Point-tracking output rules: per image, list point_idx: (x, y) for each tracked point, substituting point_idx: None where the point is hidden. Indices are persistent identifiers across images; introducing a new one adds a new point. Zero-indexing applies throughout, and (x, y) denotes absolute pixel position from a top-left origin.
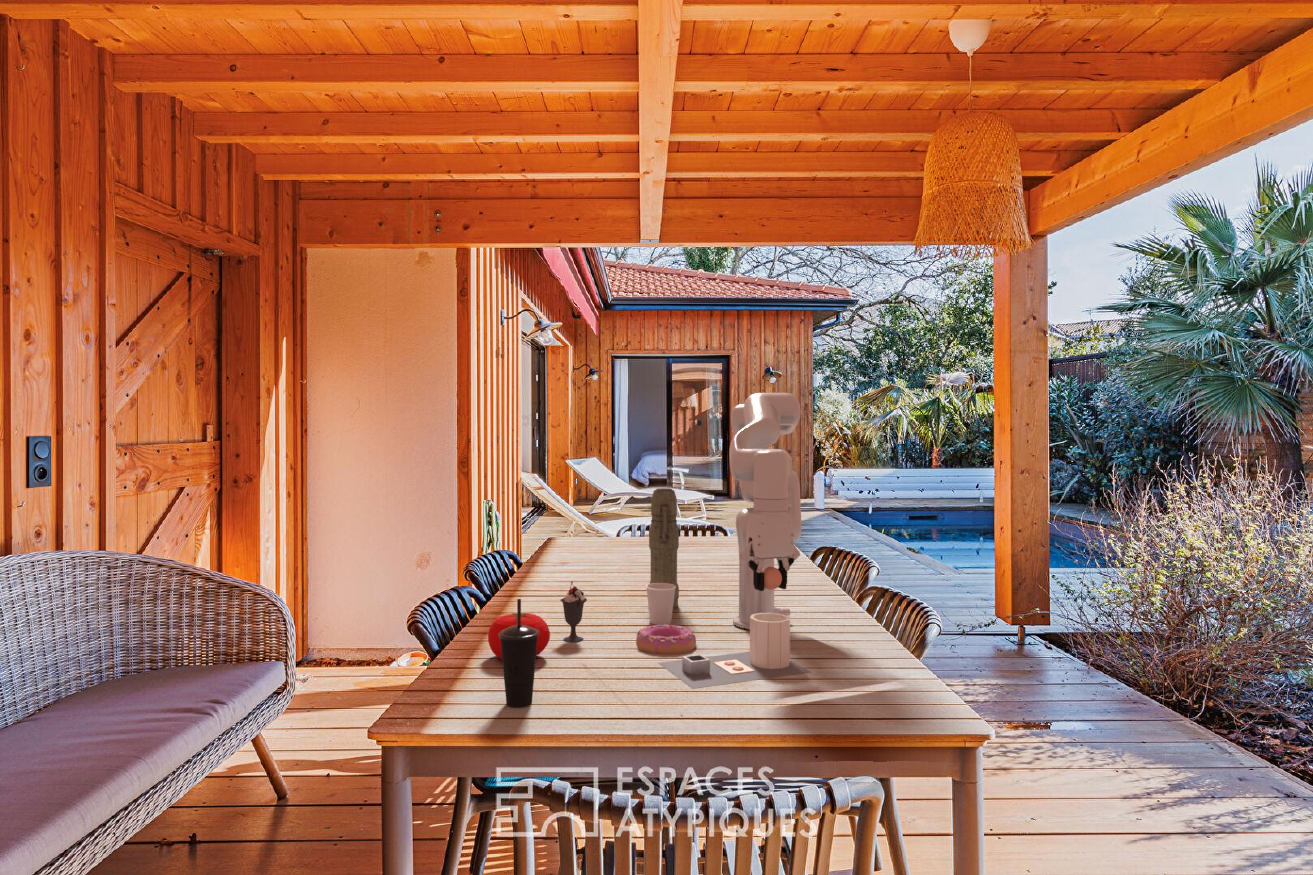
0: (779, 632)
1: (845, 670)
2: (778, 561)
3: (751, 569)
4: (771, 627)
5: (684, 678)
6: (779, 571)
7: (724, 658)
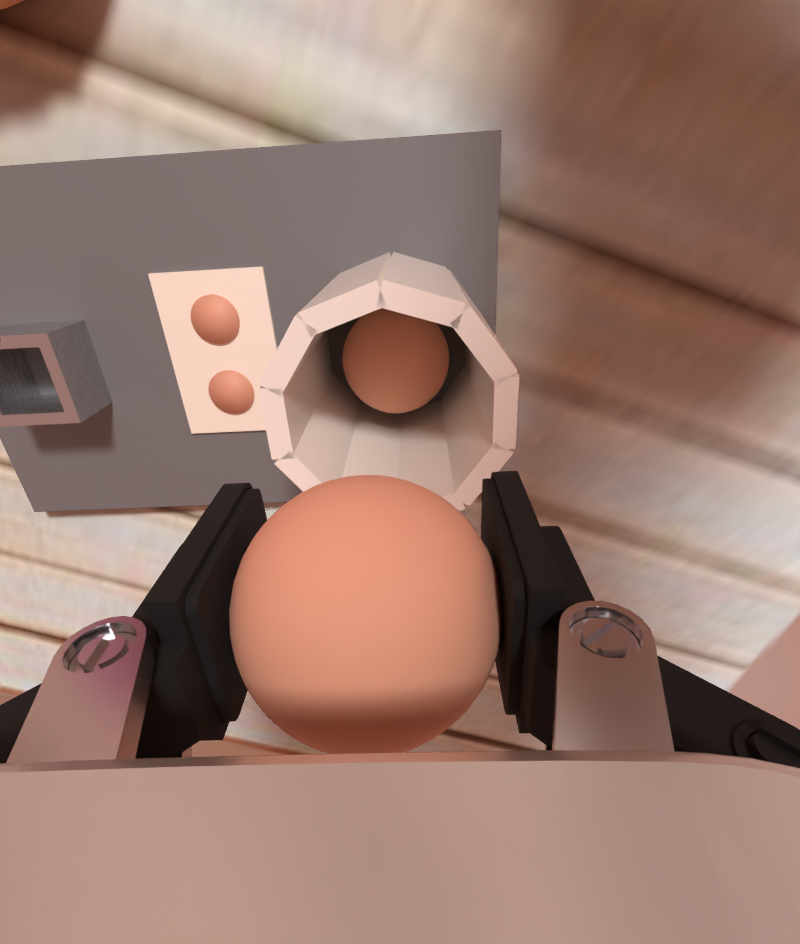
0: None
1: (650, 455)
2: (553, 739)
3: (75, 644)
4: None
5: None
6: (460, 715)
7: (217, 217)
